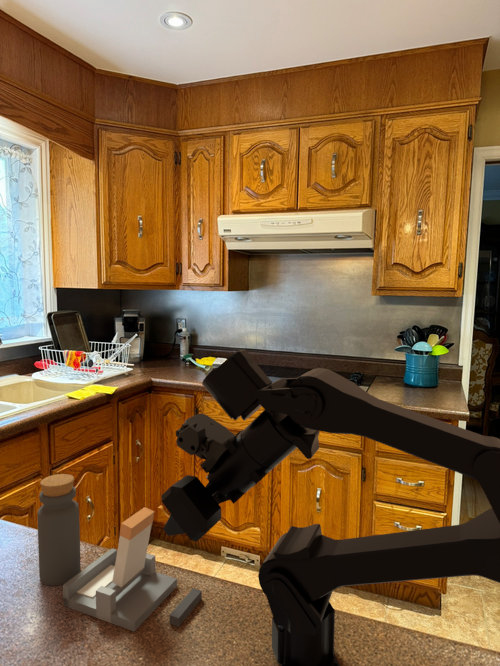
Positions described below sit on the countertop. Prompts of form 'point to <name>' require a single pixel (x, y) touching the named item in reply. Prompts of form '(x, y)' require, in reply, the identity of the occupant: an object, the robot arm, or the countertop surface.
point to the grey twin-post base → (100, 599)
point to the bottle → (58, 530)
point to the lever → (132, 549)
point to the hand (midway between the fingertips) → (181, 518)
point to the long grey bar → (185, 607)
